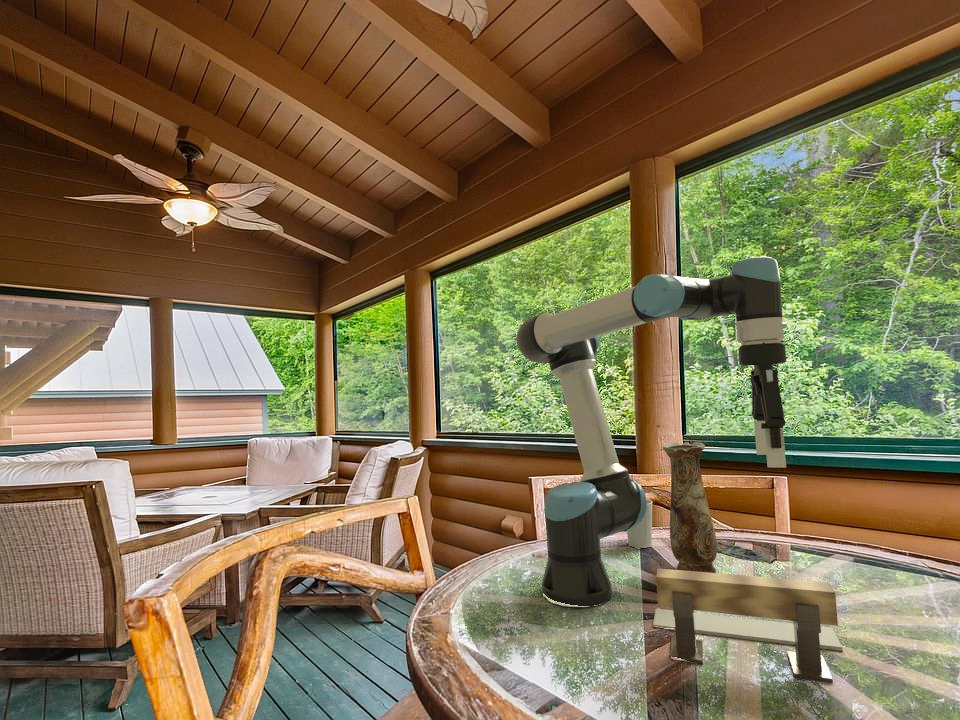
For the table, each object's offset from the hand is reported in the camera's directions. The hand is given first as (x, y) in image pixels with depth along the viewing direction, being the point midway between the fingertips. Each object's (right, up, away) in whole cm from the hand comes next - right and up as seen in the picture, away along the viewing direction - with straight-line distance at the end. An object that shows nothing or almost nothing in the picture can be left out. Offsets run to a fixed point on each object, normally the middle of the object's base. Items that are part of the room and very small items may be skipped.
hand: (770, 460), depth 94 cm
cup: (-8, -33, +50) cm, 61 cm away
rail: (-9, -23, -8) cm, 26 cm away
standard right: (0, -31, -12) cm, 33 cm away
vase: (-1, -32, +30) cm, 44 cm away
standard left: (-17, -32, -5) cm, 36 cm away
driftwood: (+14, -32, +41) cm, 54 cm away
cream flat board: (-5, -31, +1) cm, 32 cm away
